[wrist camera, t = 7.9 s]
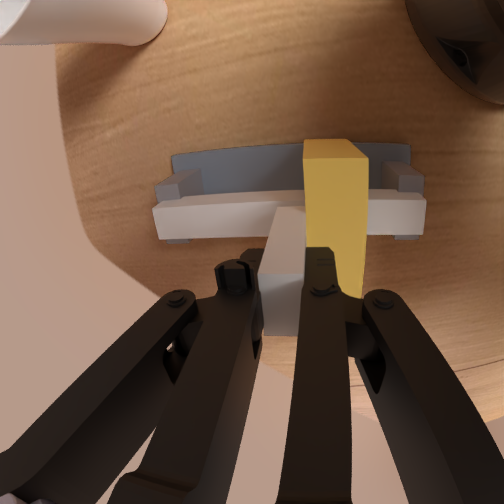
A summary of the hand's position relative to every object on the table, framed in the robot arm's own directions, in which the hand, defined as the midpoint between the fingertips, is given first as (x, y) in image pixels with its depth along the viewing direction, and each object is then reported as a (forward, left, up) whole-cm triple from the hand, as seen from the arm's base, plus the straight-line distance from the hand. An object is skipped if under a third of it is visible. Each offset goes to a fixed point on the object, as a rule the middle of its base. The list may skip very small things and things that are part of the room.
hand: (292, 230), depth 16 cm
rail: (0, -1, -9) cm, 9 cm away
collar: (0, +2, -7) cm, 7 cm away
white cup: (-16, -12, -9) cm, 22 cm away
